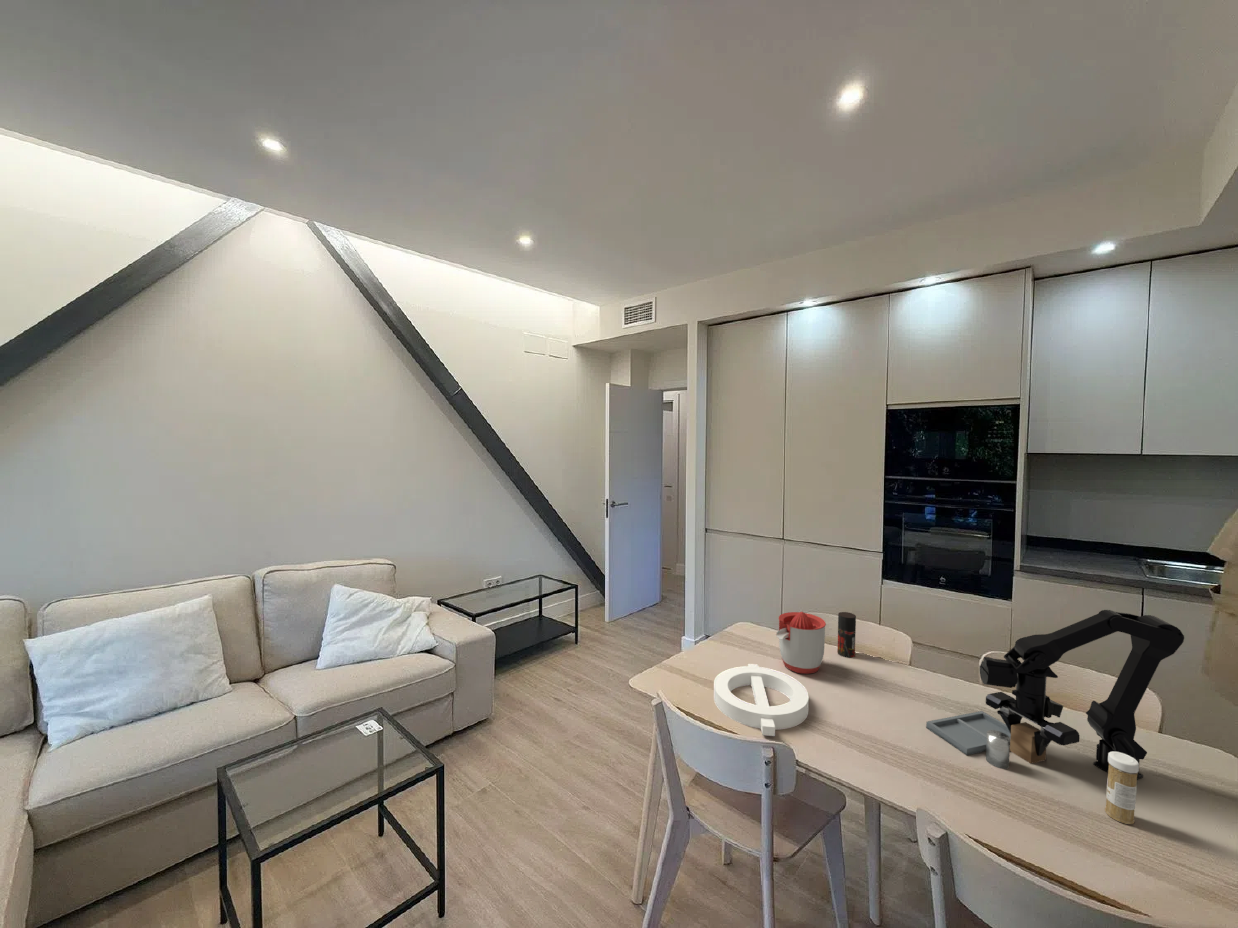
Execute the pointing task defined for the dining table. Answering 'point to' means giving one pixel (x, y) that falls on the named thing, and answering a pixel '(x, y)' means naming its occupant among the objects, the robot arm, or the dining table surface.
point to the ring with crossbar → (761, 698)
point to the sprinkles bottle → (1121, 787)
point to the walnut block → (1025, 742)
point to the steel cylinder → (998, 749)
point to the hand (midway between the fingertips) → (1027, 748)
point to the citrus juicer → (801, 641)
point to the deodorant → (846, 634)
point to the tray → (967, 730)
